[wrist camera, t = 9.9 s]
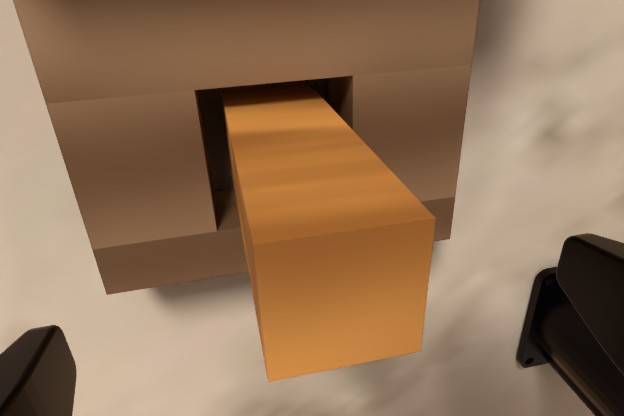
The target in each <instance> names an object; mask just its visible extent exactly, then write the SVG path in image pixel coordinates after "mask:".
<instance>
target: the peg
mask: <svg viewBox="0 0 624 416" xmlns="http://www.w3.org/2000/svg"><path fill="white" fill-rule="evenodd" d="M221 97H222V105H223V113H224V121H225V129H226V137H227V145H228V153H229V161H230V169H231V175H232V180H233V186H234V192H235V197H236V203H237V209H238V214H239V220H240V225H241V231H242V237H243V242H244V248H245V254H246V259H247V265H248V271H249V276H250V282H251V288H252V293H253V299H254V304H255V310H256V316H257V321H258V327H259V333H260V338H261V344H262V350H263V355H264V361H265V366H266V372H267V378H268V382H271V381H276V380H281V379H286V378H291V377H296V376H301V375H306V374H311V373H316V372H321V371H326V370H331V369H336V368H341V367H346V366H351V365H356V364H361V363H366V362H371V361H375V360H380V359H385V358H390V357H395V356H400V355H405V354H410V353H415V352H420V351H421V344H422V335H423V326H424V317H425V308H426V299H427V290H428V282H429V273H430V264H431V255H432V246H433V237H434V228H435V219H436V218H435V217H434V216H433V215H432V214H431V213H430V212H429V211H428V209H427V208H426V207H425V206H424V205H423V204H422V203H421V202H420V201H419V200H418V199H417V198H416V197H415V196H414V195H413V194H412V193H411V191H410V190H409V189H408V188H407V187H406V186H405V185H404V184H403V183H402V182H401V181H400V180H399V179H398V178H397V177H396V176H395V174H394V173H393V172H392V171H391V170H390V169H389V168H388V167H387V166H386V165H385V164H384V163H383V162H382V161H381V160H380V159H379V157H378V156H377V155H376V154H375V153H374V152H373V151H372V150H371V149H370V148H369V147H368V146H367V145H366V144H365V143H364V142H363V140H362V139H361V138H360V137H359V136H358V135H357V134H356V133H355V132H354V131H353V130H352V129H351V128H350V127H349V126H348V125H347V124H346V122H345V121H344V120H343V119H342V118H341V117H340V116H339V115H338V114H337V113H336V112H335V111H334V110H333V109H332V108H331V107H330V105H329V104H328V103H327V102H326V101H325V100H324V99H323V98H322V97H321V96H320V95H319V94H318V93H317V92H316V91H315V90H314V88H313V87H312V86H311V85H310V84H309V83H308V82H295V83H284V84H272V85H260V86H248V87H236V88H224V89H221Z"/></svg>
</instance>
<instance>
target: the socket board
mask: <svg viewBox="0 0 624 416" xmlns="http://www.w3.org/2000/svg"><path fill="white" fill-rule="evenodd" d="M479 1H480V0H13V2H14V5H15V8H16V11H17V15H18V18H19V21H20V24H21V27H22V30H23V33H24V36H25V40H26V43H27V46H28V49H29V52H30V55H31V58H32V62H33V65H34V68H35V71H36V74H37V77H38V80H39V84H40V87H41V90H42V93H43V96H44V99H45V102H46V105H47V109H48V112H49V115H50V118H51V121H52V124H53V127H54V131H55V134H56V137H57V140H58V143H59V146H60V149H61V153H62V156H63V159H64V162H65V165H66V168H67V171H68V174H69V178H70V181H71V184H72V187H73V190H74V193H75V196H76V200H77V203H78V206H79V209H80V212H81V215H82V218H83V222H84V225H85V228H86V231H87V234H88V237H89V240H90V243H91V247H92V250H93V253H94V256H95V259H96V262H97V265H98V269H99V272H100V275H101V278H102V281H103V284H104V287H105V291H106V294H107V295H108V294H114V293H120V292H127V291H133V290H139V289H145V288H151V287H157V286H163V285H170V284H176V283H182V282H188V281H194V280H200V279H206V278H213V277H219V276H225V275H231V274H237V273H243V272H249V271H248V265H247V259H246V254H245V248H244V242H243V237H242V231H241V225H240V220H239V214H238V209H237V203H236V197H235V192H234V188H232V189H225V190H217V191H213V185H212V178H211V172H210V166H209V159H208V153H207V146H206V140H205V134H204V127H203V121H202V115H201V108H200V102H199V95H198V90H202V89H213V88H224V87H235V86H246V85H256V84H267V83H278V82H289V81H300V80H311V79H322V78H328V104H329V105H330V107H331V108H332V109H333V110H334V111H335V112H336V113H337V114H338V115H339V116H340V117H341V118H342V119H343V120H344V121H345V122H346V124H347V125H348V126H349V127H350V128H351V129H352V130H353V131H354V132H355V133H356V134H357V135H358V136H359V137H360V138H361V139H362V140H363V142H364V143H365V144H366V145H367V146H368V147H369V148H370V149H371V150H372V151H373V152H374V153H375V154H376V155H377V156H378V157H379V159H380V160H381V161H382V162H383V163H384V164H385V165H386V166H387V167H388V168H389V169H390V170H391V171H392V172H393V173H394V174H395V176H396V177H397V178H398V179H399V180H400V181H401V182H402V183H403V184H404V185H405V186H406V187H407V188H408V189H409V190H410V191H411V193H412V194H413V195H414V196H415V197H416V198H417V199H418V200H419V201H420V202H421V203H422V204H423V205H424V206H425V207H426V208H427V209H428V211H429V212H430V213H431V214H432V215H433V216H434V217H435V218H436V219H435V228H434V237H433V242H434V241H440V240H446V239H450V234H451V226H452V218H453V210H454V202H455V194H456V186H457V178H458V170H459V162H460V154H461V146H462V138H463V130H464V122H465V114H466V106H467V98H468V90H469V81H470V73H471V65H472V57H473V49H474V41H475V33H476V25H477V17H478V9H479Z"/></svg>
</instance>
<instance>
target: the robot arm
mask: <svg viewBox="0 0 624 416" xmlns="http://www.w3.org/2000/svg"><path fill="white" fill-rule="evenodd" d="M517 360H518V362H519V363H520V364H521V365H522V367H524V368H528V367H532V366H537V365H541V364H546V363H549V364H550V365H551V366H552V367H553V368H554V369H555V371H556V372H557V373H558V374H559V375H560V376H561V377H562V379H563V380H564V381H565V382H566V383H567V384H568V385H569V386H570V388H571V389H572V390H573V391H574V392H575V393H576V394H577V395H578V397H579V398H580V399H581V400H582V401H583V402H584V403H585V405H586V406H587V407H588V408H589V409H590V410H591V411H592V412H593V414H594V415H595V416H624V243H621V242H618V241H615V240H611V239H608V238H604V237H601V236H598V235H594V234H587V233H586V234H580V235H574V236H570V237H568V238H567V239H566V240H565V242H564V244H563V248H562V252H561V255H560V259H559V263H558V267H553V268H547V269H544V270H543V271H541V272H540V273H539V274H538V276H537V278H536V282H535V286H534V290H533V294H532V298H531V302H530V306H529V310H528V315H527V319H526V323H525V327H524V331H523V335H522V339H521V343H520V347H519V352H518V356H517ZM75 385H76V365H75V361H74V359H73V356H72V353H71V351H70V348H69V346H68V343H67V341H66V338H65V336H64V333H63V331H62V330H61V328H60V327H59V326H56V325H51V326H45V327H39V328H34V329H30V330H28V331H27V332H25V333H24V334H23V335H22V336H21V337H19V338H18V339H17V340H16V341H15V342H14V343H13V344H12V345H10V346H9V347H8V348H7V349H6V350H5V351H4V352H2V353H1V354H0V416H72V412H73V403H74V394H75Z"/></svg>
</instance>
